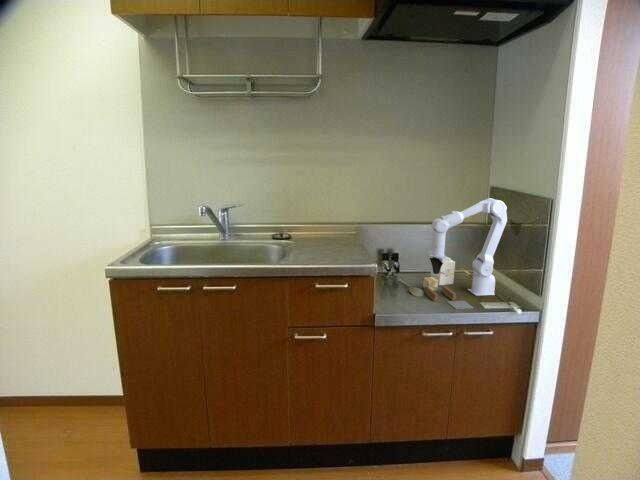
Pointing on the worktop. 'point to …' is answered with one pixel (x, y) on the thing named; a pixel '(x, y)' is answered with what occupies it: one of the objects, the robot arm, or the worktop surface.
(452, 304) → the gray mat
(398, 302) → the worktop surface
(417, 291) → the soupspoon
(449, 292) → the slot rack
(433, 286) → the maple block
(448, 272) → the ink box
